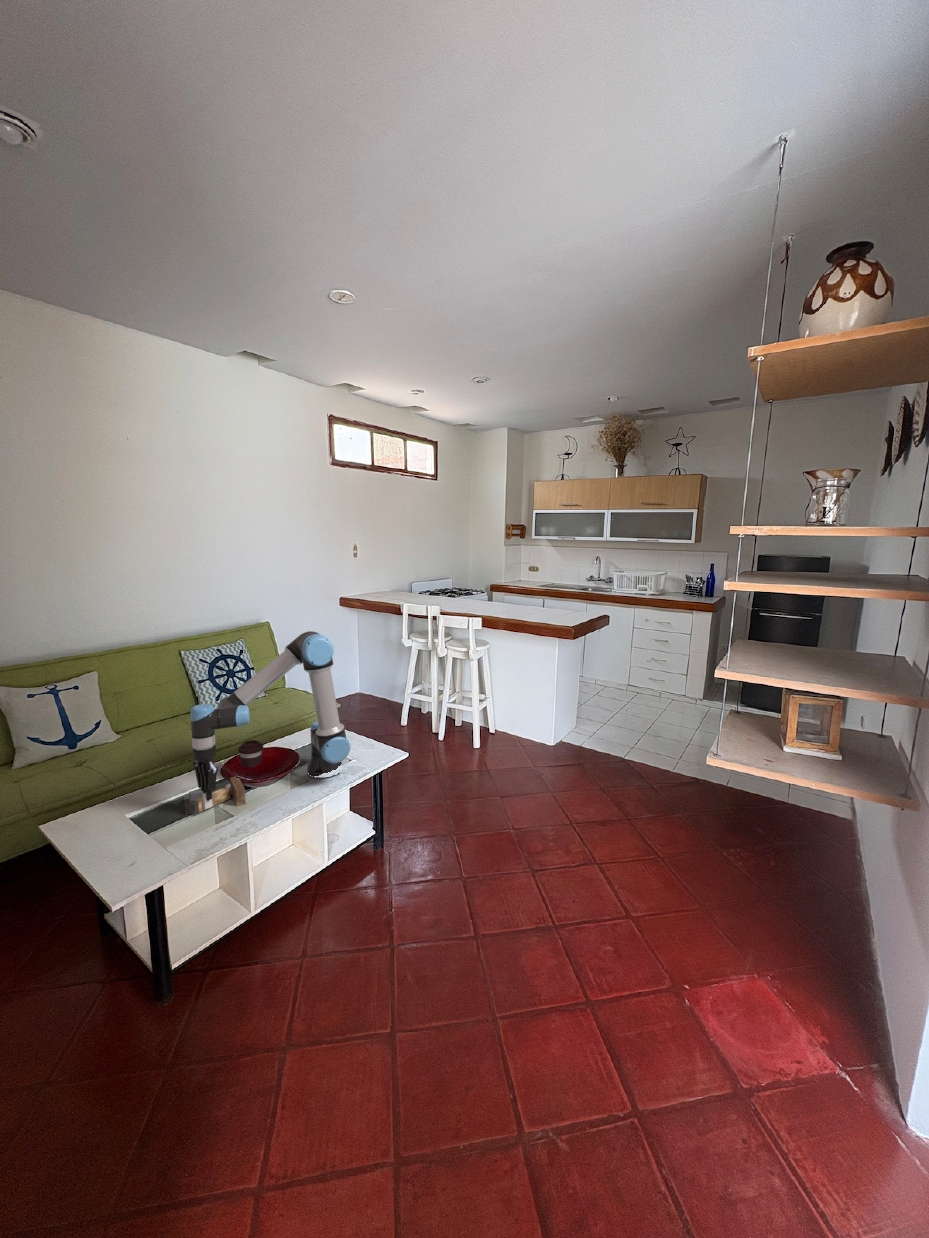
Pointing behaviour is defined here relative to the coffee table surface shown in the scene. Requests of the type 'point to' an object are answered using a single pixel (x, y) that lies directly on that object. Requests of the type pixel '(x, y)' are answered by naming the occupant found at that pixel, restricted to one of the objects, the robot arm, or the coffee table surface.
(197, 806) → the folding leg
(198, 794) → the leg rest
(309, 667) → the robot arm
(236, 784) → the curved wooden block
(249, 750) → the coffee cup
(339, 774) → the coffee table surface
